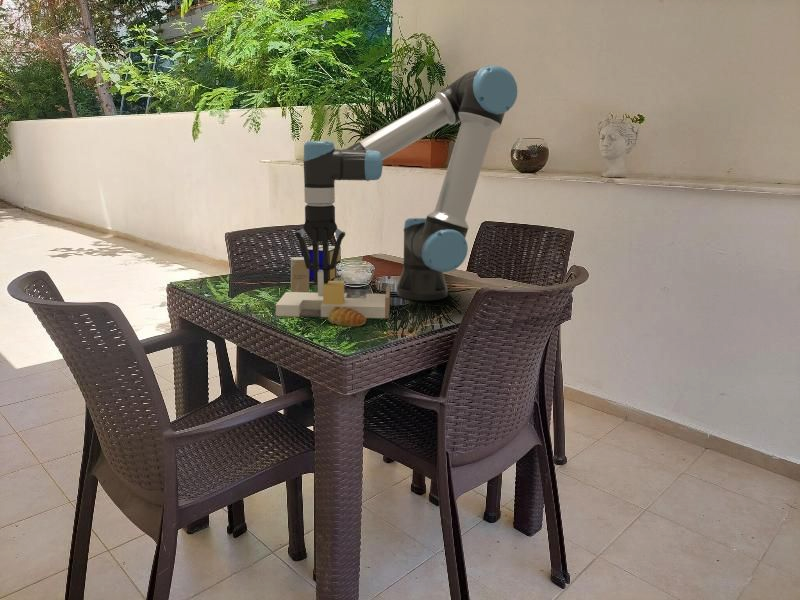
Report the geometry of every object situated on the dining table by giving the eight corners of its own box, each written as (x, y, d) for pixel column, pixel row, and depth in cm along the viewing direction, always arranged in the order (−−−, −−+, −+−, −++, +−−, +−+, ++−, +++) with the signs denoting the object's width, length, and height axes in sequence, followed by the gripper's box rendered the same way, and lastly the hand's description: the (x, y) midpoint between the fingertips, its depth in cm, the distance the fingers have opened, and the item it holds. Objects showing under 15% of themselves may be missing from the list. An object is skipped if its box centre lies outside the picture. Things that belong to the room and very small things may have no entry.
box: (292, 297, 170) (291, 259, 168) (290, 293, 174) (289, 256, 172) (310, 296, 172) (309, 259, 169) (308, 292, 176) (307, 256, 173)
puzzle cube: (301, 278, 195) (301, 248, 192) (314, 272, 204) (314, 244, 202) (329, 281, 192) (329, 251, 190) (341, 275, 201) (341, 246, 199)
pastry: (371, 323, 147) (371, 308, 146) (357, 330, 141) (357, 315, 140) (339, 317, 151) (339, 303, 150) (325, 324, 145) (324, 309, 144)
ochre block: (344, 299, 157) (344, 281, 156) (342, 304, 152) (342, 285, 151) (325, 299, 157) (325, 280, 156) (323, 303, 152) (323, 284, 151)
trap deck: (389, 304, 164) (390, 285, 163) (388, 318, 151) (389, 297, 149) (286, 302, 164) (285, 283, 163) (275, 316, 151) (275, 295, 149)
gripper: (347, 203, 152) (347, 292, 157) (296, 202, 152) (299, 291, 157) (344, 206, 144) (345, 299, 150) (291, 205, 144) (294, 298, 150)
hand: (321, 295), depth 154 cm, fingers closed
